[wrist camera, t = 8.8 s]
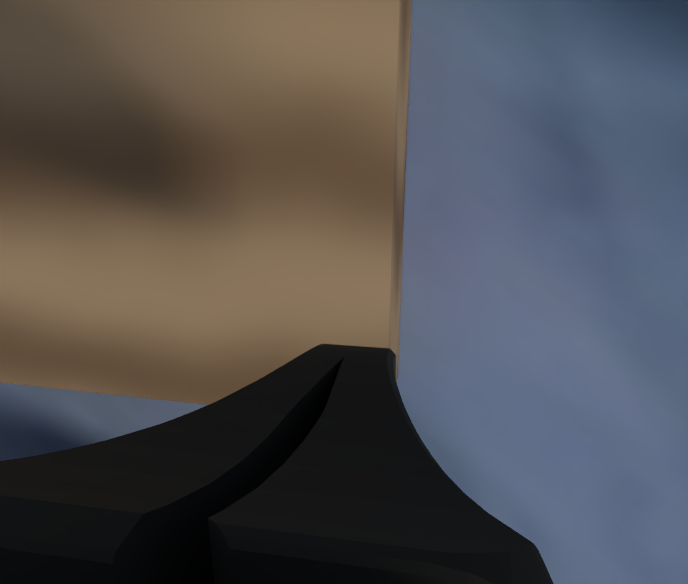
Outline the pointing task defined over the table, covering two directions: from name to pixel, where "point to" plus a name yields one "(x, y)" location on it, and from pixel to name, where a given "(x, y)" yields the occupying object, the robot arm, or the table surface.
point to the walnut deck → (197, 189)
